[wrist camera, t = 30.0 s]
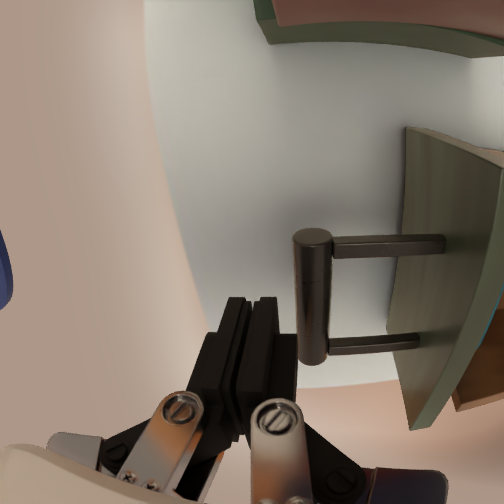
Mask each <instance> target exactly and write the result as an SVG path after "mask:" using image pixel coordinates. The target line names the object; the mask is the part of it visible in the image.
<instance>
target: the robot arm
mask: <svg viewBox="0 0 504 504" xmlns="http://www.w3.org/2000/svg"><path fill="white" fill-rule="evenodd" d="M297 370H298V334H280V330H279V318H278V306H277V298H276V297H261V298H260V301H255V302H254V306H253V310H252V304H251V301H246V298H245V297H229V299H228V301H227V304H226V307H225V310H224V313H223V316H222V319H221V322H220V325H219V328H218V331H217V332H208V333H207V334H206V337H205V340H204V342H203V344H202V347H201V350H200V353H199V355H198V358H197V361H196V364H195V367H194V369H193V372H192V375H191V377H190V380H189V383H188V386H187V388H186V391H178V392H174V393H171V394H169V395H168V396H166V397H165V398H164V399H163V400H162V401H161V403H160V404H159V406H158V407H157V409H156V411H155V413H154V414H153V416H152V417H151V418H150V419H148V420H146V421H144V422H142V423H140V424H138V425H136V426H134V427H132V428H130V429H127V430H126V431H123V432H121V433H119V434H117V435H115V436H112V437H111V438H109V439H103V438H102V437H98V436H88V435H79V434H72V433H65V432H58V433H56V434H54V435H53V436H52V437H51V438H50V439H49V441H48V443H47V447H46V449H45V448H42V447H39V446H35V445H31V444H12V445H9V446H6V447H4V448H3V449H2V450H1V451H0V504H206V503H203V502H204V499H205V497H206V495H207V493H208V490H209V488H210V486H211V483H212V481H213V479H214V477H215V474H216V472H217V470H218V467H219V465H220V463H221V460H222V458H223V455H224V451H225V450H226V449H228V448H230V447H231V443H232V442H238V440H239V435H244V434H245V436H246V439H247V442H248V445H249V448H250V450H251V504H446V502H447V495H448V480H447V478H446V477H445V475H444V474H442V473H441V472H440V471H435V470H409V469H392V468H379V467H376V468H375V469H370V468H361V467H360V466H359V465H357V464H356V463H355V462H354V461H352V460H351V459H350V458H348V457H347V456H346V455H345V454H343V453H342V452H341V451H339V450H338V449H337V448H336V447H334V446H333V445H332V444H331V443H330V442H328V441H327V440H326V439H325V438H323V437H322V436H321V435H320V434H318V433H317V432H316V431H315V430H314V429H312V428H311V427H310V426H309V425H308V424H307V423H305V422H304V418H303V414H302V411H301V409H300V408H299V406H298V405H297V404H296V403H295V402H296V387H297Z"/></svg>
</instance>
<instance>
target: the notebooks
mask: <svg viewBox="0 0 504 504" xmlns="http://www.w3.org/2000/svg"><path fill="white" fill-rule="evenodd" d="M253 1H254V8H255V15H256V20H257V22H258V24H259V26H260V28H261V29H262V31H263V33H264V35H265V37H266V39H267V41H268V43H269V44H280V43H295V42H324V41H338V42H367V43H381V44H392V45H401V46H409V47H417V48H423V49H429V50H435V51H441V52H446V53H451V54H455V55H460V56H464V57H468V58H480V57H494V56H504V0H253Z"/></svg>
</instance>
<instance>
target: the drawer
mask: <svg viewBox="0 0 504 504" xmlns="http://www.w3.org/2000/svg"><path fill="white" fill-rule="evenodd" d="M292 247H293V264H294V284H295V307H296V334H298V359H299V361H300V362H302V363H303V364H305V365H309V366H315V365H319V364H321V363H322V362H324V361H325V360H326V358H327V355H329V356H332V355H352V354H367V353H379V352H390V351H392V352H393V356H394V360H395V364H396V368H397V372H398V376H399V381H400V385H401V390H402V394H403V399H404V404H405V409H406V414H407V419H408V425H409V430H410V431H412V430H417V429H423V428H428V427H430V426H431V425H432V423H433V422H434V421H435V419H436V418H437V416H438V415H439V413H440V412H441V410H442V409H443V407H444V405H445V404H446V402H447V401H448V399H449V398H450V396H452V400H453V403H454V406H455V409H456V412H459V411H463V410H467V409H471V408H474V407H478V406H481V405H485V404H488V403H491V402H495V401H498V400H501V399H504V289H503V292H502V295H501V298H500V300H499V303H498V305H497V308H496V310H495V313H494V315H493V318H492V320H491V322H490V325H489V327H488V329H487V331H486V334H485V336H484V338H483V340H482V342H481V344H480V346H479V347H478V345H479V343H480V341H481V338H482V336H483V334H484V332H485V330H486V327H487V325H488V323H489V320H490V318H491V316H492V313H493V311H494V308H495V306H496V303H497V300H498V298H499V295H500V292H501V289H502V287H503V284H504V152H503V151H496V150H489V149H481V148H478V147H475V146H473V145H471V144H468V143H465V142H463V141H460V140H458V139H455V138H452V137H450V136H447V135H444V134H441V133H438V132H436V131H433V130H430V129H426V128H413V127H407V128H406V177H405V196H404V210H403V221H402V231H401V235H371V236H341V237H332V234H331V233H330V232H329V231H327V230H325V229H321V228H305V229H301V230H299V231H297V232H295V233H294V234H293V236H292ZM332 254H333V258H334V259H343V258H369V257H393V256H398V263H397V270H396V276H395V283H394V289H393V294H392V300H391V305H390V310H389V315H388V320H387V325H386V330H387V333H388V335H378V336H364V337H347V338H329V328H330V311H331V290H332ZM477 347H478V348H477ZM476 349H477V350H476Z"/></svg>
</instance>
